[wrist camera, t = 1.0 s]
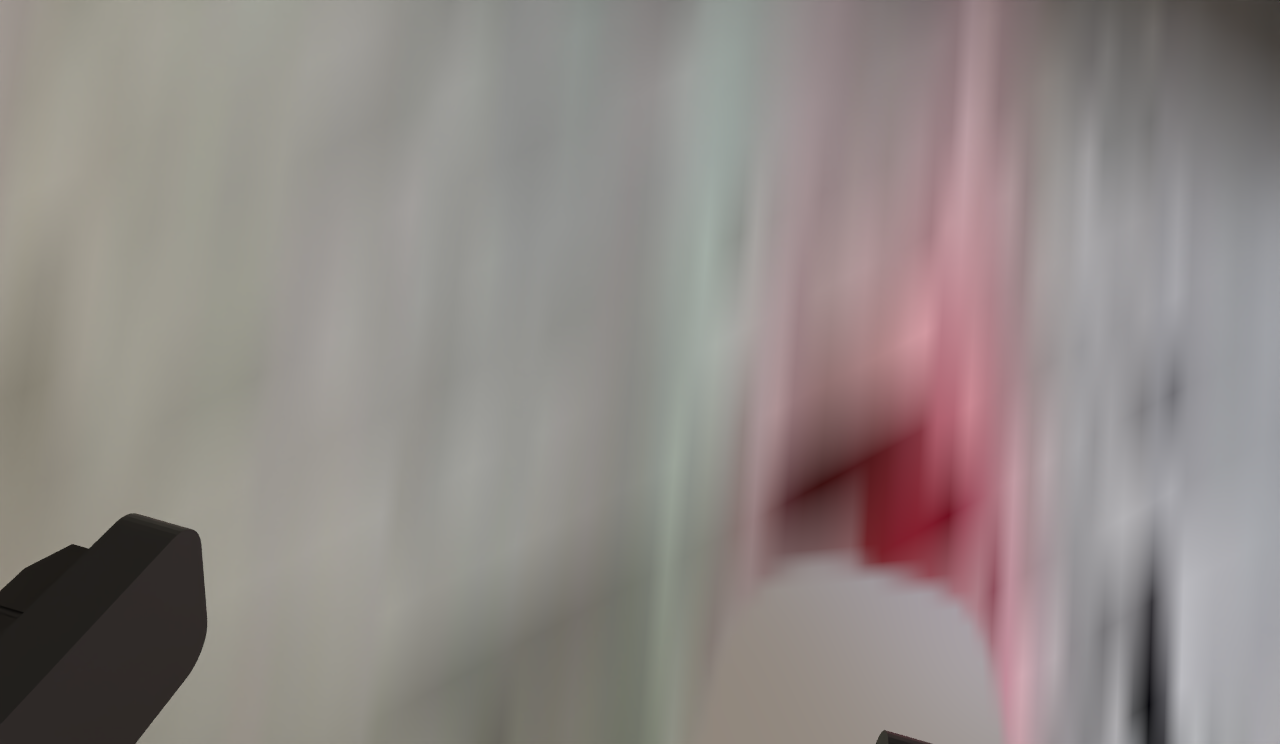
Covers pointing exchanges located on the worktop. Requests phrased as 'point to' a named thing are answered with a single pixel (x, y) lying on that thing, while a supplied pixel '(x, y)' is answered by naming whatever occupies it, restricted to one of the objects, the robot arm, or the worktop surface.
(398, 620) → the worktop surface
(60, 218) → the worktop surface
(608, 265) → the worktop surface
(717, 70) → the worktop surface
